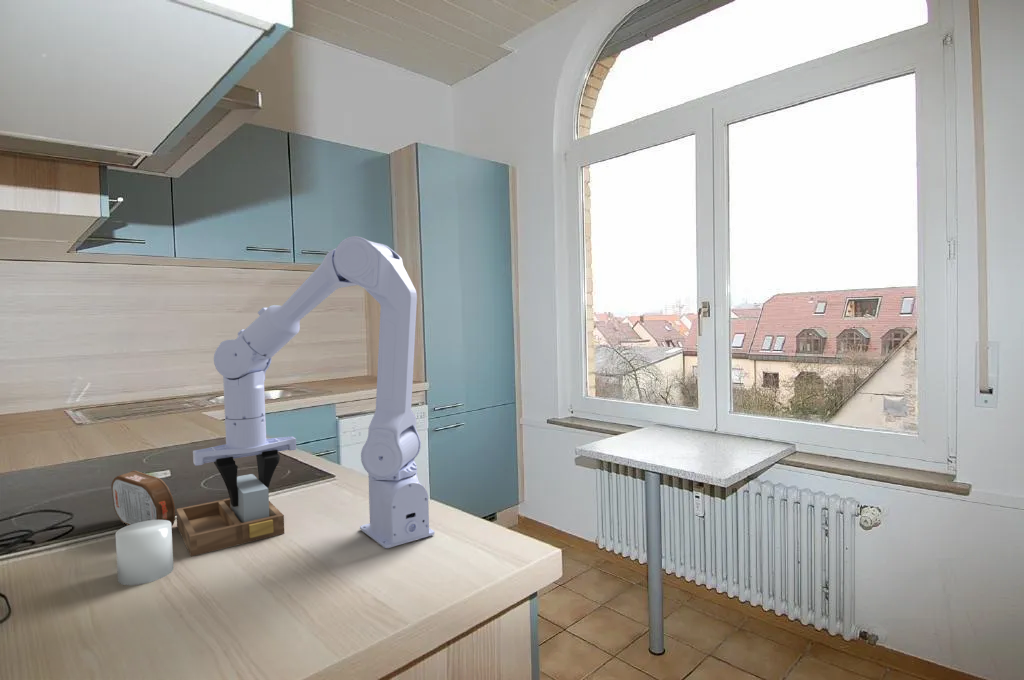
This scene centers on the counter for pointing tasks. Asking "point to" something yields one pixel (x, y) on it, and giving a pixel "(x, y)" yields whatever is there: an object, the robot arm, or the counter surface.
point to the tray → (223, 526)
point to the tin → (142, 498)
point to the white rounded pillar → (144, 552)
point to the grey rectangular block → (251, 499)
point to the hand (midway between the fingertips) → (248, 501)
